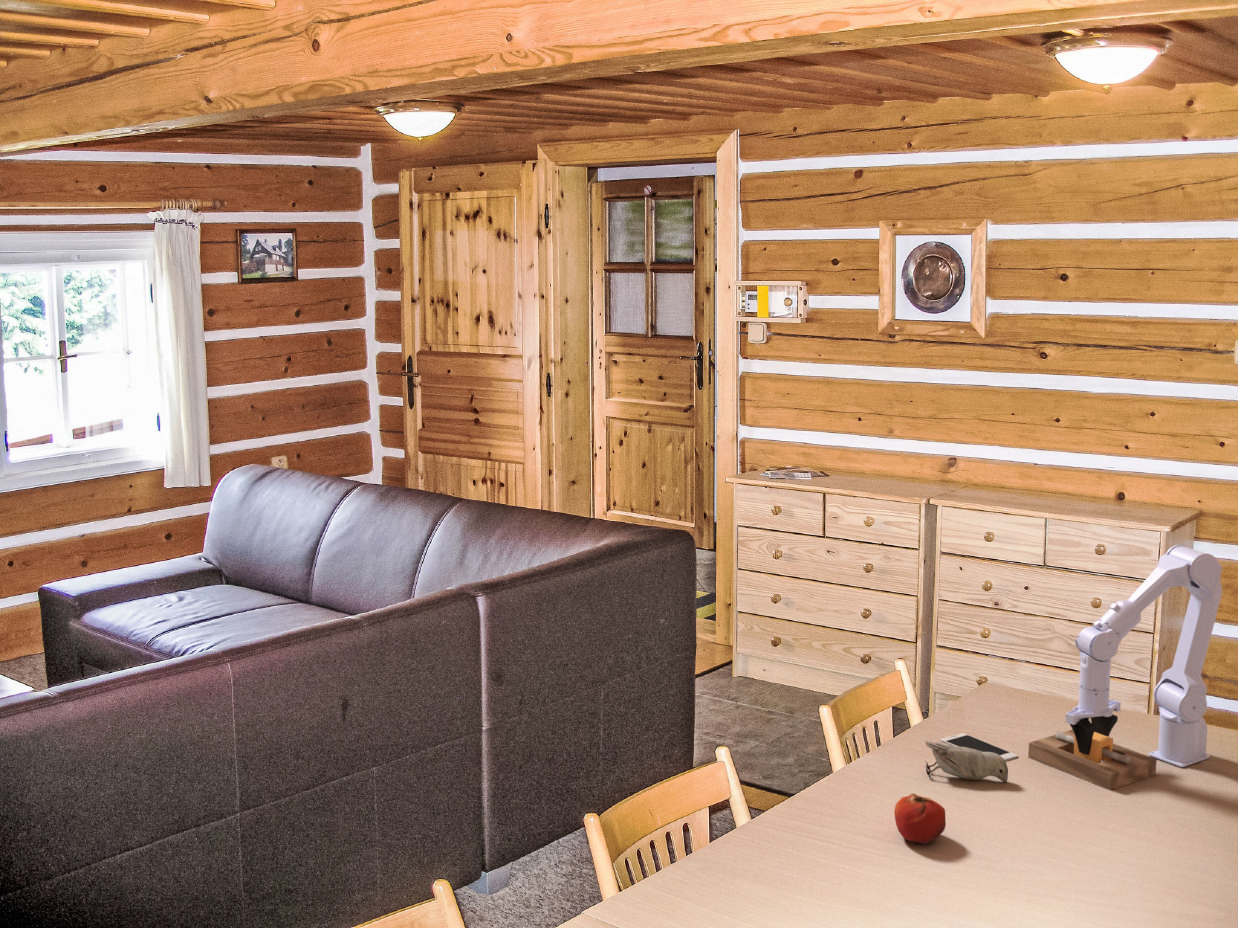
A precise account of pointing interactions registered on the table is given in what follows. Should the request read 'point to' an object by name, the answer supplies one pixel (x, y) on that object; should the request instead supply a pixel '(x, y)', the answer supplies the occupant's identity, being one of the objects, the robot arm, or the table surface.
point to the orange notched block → (1096, 748)
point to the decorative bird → (967, 762)
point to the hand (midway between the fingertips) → (1091, 750)
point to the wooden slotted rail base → (1106, 774)
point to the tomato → (919, 818)
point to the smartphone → (977, 745)
